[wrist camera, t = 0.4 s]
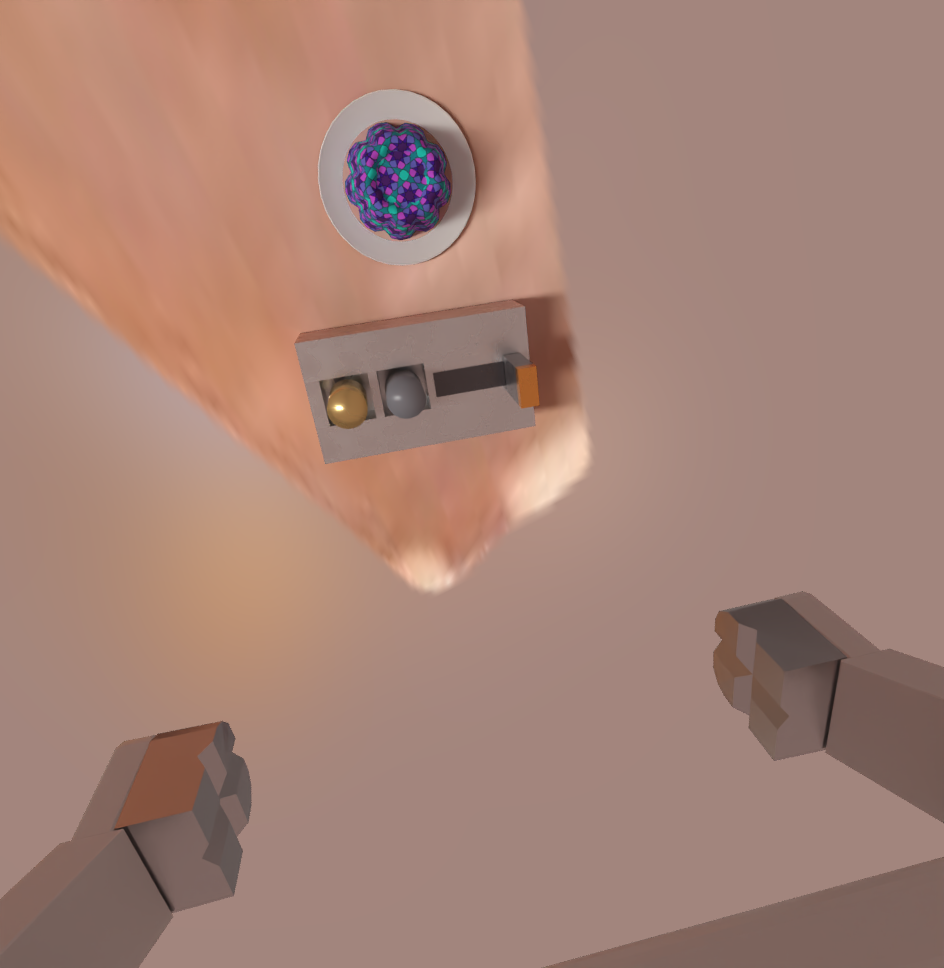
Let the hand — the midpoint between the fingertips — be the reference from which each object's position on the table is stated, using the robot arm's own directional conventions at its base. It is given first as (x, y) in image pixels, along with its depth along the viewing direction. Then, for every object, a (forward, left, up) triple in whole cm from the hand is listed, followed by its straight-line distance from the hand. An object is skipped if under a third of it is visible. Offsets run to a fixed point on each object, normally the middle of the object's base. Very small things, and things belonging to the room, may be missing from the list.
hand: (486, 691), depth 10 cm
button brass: (+5, -4, -40) cm, 41 cm away
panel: (+5, +1, -44) cm, 44 cm away
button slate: (+5, 0, -40) cm, 40 cm away
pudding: (-10, +3, -45) cm, 46 cm away
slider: (+5, +9, -39) cm, 41 cm away
